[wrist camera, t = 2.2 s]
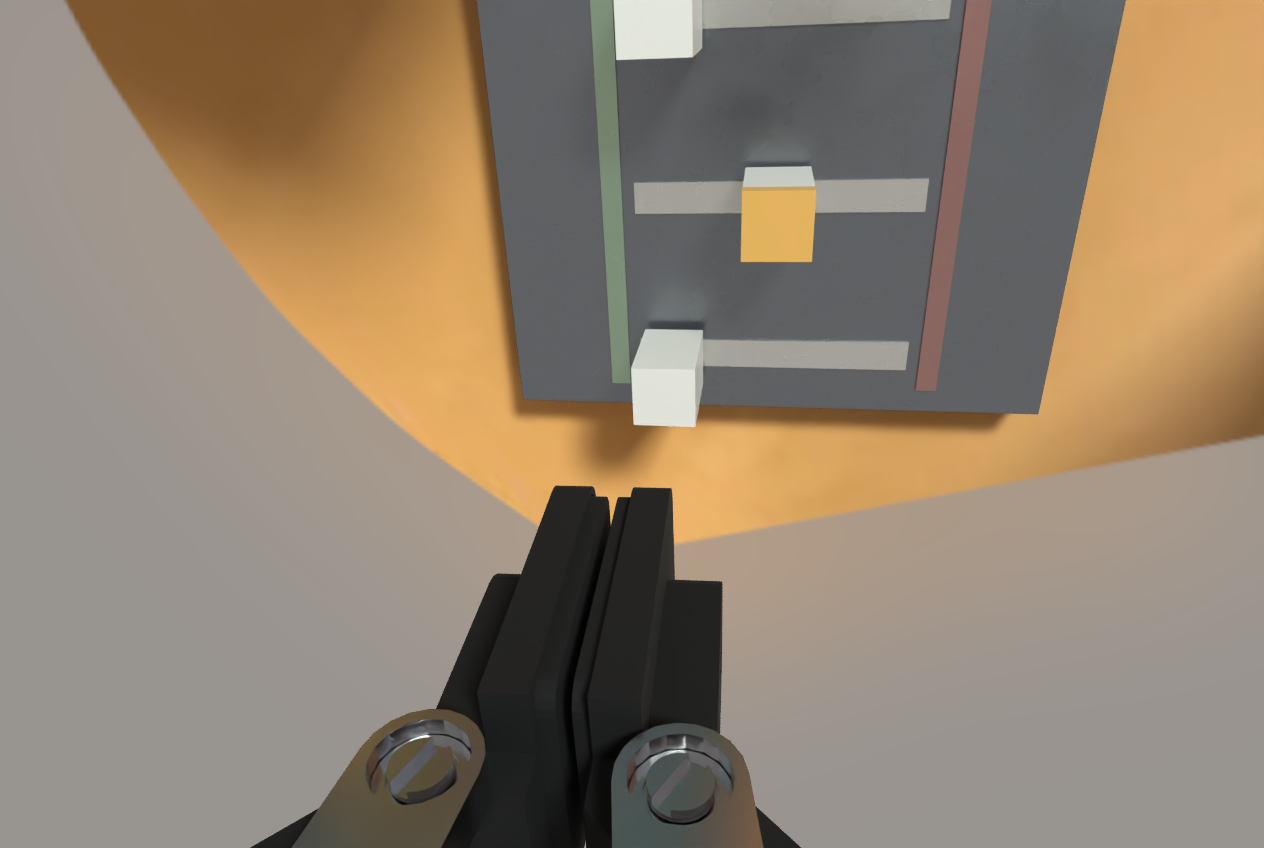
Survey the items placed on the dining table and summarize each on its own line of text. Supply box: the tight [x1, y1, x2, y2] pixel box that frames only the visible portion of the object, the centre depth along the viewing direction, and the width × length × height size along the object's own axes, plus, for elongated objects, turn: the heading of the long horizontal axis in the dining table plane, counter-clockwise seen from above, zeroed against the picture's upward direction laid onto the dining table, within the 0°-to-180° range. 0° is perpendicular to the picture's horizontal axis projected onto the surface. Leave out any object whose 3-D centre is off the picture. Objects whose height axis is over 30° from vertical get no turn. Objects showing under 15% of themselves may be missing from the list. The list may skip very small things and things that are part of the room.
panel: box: [477, 0, 1126, 414], centre depth 32 cm, size 22×18×2 cm
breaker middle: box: [741, 166, 816, 262], centre depth 29 cm, size 2×2×4 cm
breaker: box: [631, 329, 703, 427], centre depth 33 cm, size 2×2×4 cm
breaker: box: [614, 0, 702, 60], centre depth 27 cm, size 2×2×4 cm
